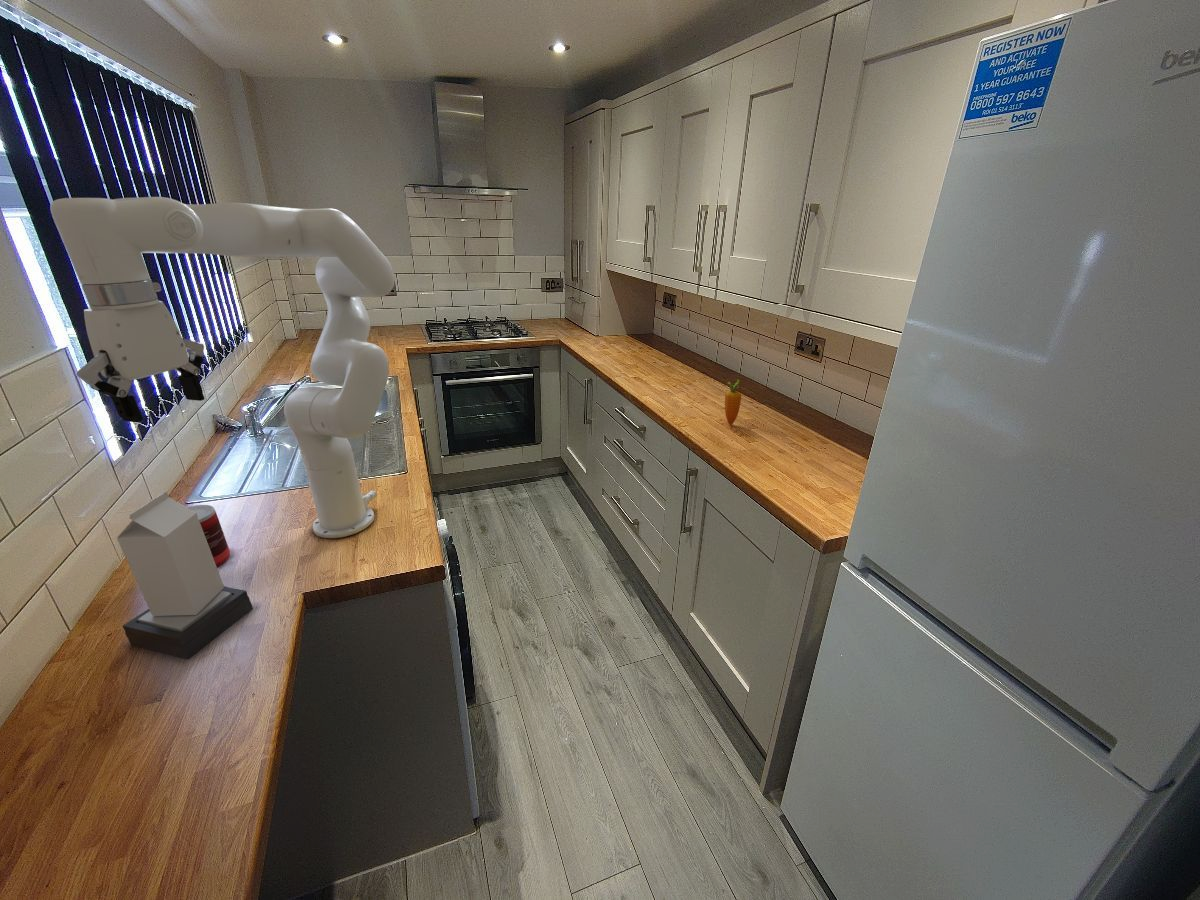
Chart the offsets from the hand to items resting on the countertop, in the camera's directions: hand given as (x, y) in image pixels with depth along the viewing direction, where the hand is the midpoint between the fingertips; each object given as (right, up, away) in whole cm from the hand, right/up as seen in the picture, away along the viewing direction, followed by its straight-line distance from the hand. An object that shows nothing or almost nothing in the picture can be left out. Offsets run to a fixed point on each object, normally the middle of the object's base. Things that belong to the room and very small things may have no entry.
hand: (166, 409), depth 81 cm
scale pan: (-2, -33, +6) cm, 34 cm away
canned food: (-12, -29, +25) cm, 40 cm away
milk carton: (-2, -32, +7) cm, 32 cm away
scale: (-2, -36, +8) cm, 37 cm away
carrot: (+109, +2, +89) cm, 141 cm away
